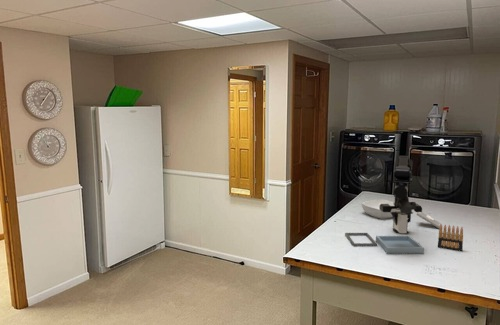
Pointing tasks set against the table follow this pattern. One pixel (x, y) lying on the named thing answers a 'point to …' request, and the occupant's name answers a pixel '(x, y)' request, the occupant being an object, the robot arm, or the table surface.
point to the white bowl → (377, 208)
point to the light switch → (429, 219)
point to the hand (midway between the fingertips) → (399, 224)
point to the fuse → (401, 222)
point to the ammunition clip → (451, 238)
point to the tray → (399, 245)
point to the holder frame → (360, 243)
